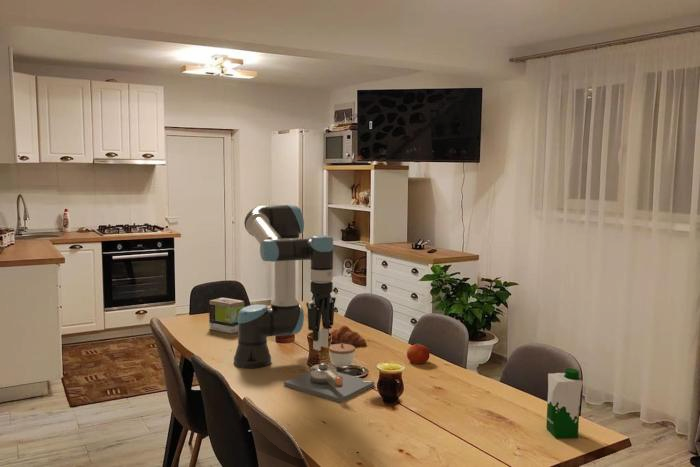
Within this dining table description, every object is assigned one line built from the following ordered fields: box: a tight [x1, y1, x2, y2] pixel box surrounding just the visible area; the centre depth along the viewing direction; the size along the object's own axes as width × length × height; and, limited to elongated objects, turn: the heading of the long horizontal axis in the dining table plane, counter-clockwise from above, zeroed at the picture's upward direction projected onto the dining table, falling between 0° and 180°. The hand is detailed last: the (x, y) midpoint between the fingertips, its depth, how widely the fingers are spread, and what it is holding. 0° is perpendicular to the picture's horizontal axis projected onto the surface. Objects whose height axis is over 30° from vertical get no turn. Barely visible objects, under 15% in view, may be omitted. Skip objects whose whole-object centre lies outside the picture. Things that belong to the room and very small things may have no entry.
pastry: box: [329, 325, 367, 347], centre depth 277 cm, size 17×15×8 cm
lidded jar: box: [328, 343, 356, 368], centre depth 244 cm, size 11×11×9 cm
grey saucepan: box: [309, 362, 343, 390], centre depth 218 cm, size 22×10×6 cm, turn 24°
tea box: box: [208, 297, 245, 334], centre depth 295 cm, size 15×10×15 cm, turn 58°
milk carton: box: [545, 368, 584, 439], centre depth 184 cm, size 9×9×20 cm
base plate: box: [283, 370, 375, 403], centre depth 221 cm, size 26×21×2 cm
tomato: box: [406, 343, 431, 364], centre depth 250 cm, size 9×9×8 cm
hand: (320, 348), depth 205 cm, fingers open, 3 cm apart
